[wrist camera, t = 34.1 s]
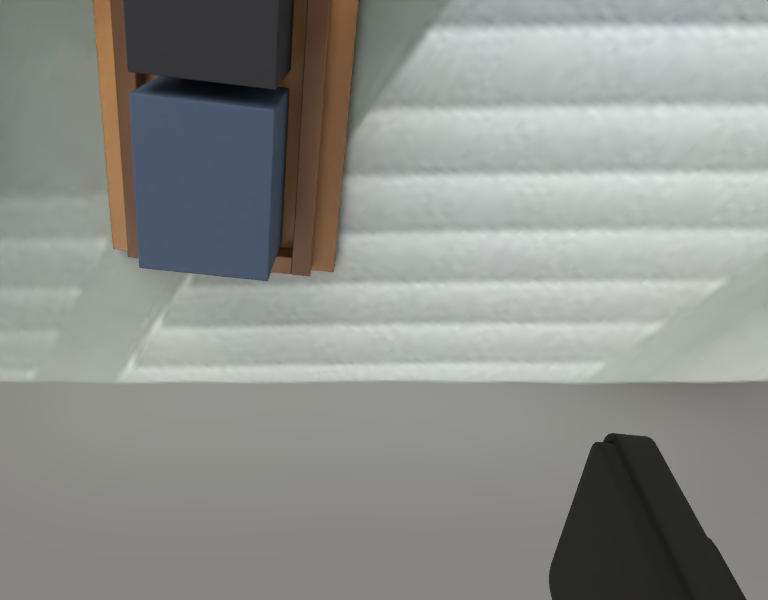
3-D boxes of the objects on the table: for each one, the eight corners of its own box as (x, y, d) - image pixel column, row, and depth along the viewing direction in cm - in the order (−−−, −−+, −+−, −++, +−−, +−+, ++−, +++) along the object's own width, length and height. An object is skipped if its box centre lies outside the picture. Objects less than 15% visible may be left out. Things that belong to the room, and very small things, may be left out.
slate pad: (289, 87, 32) (274, 110, 27) (282, 240, 35) (268, 281, 31) (163, 72, 31) (127, 92, 27) (169, 228, 35) (138, 268, 31)
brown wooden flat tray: (374, -162, 28) (373, -169, 26) (334, 266, 37) (332, 282, 35) (83, -203, 27) (62, -214, 25) (117, 243, 36) (104, 258, 35)
